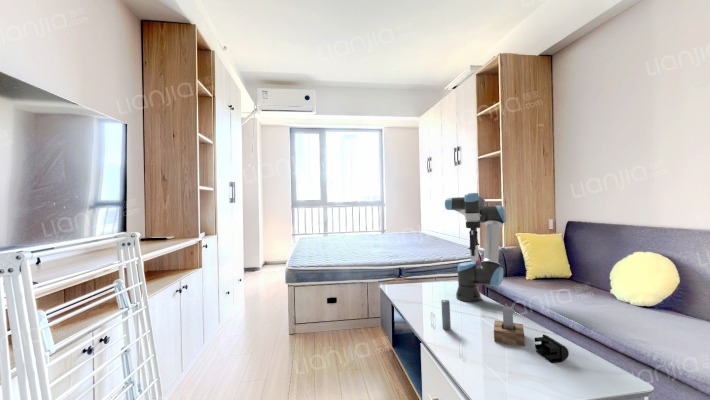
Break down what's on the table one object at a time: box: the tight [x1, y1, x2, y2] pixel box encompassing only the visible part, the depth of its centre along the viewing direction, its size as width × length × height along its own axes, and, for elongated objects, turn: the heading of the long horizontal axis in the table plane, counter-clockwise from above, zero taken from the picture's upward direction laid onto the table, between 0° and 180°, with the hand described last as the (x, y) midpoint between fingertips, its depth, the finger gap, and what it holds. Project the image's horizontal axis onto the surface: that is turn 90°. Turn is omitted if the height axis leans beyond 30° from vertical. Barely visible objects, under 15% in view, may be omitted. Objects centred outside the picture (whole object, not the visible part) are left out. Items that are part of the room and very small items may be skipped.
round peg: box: [440, 299, 452, 331], centre depth 147 cm, size 4×4×14 cm
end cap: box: [534, 334, 570, 364], centre depth 117 cm, size 10×7×7 cm
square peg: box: [502, 305, 514, 330], centre depth 134 cm, size 4×4×14 cm
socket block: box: [493, 320, 526, 347], centre depth 134 cm, size 12×12×5 cm
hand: (474, 259), depth 160 cm, fingers open, 13 cm apart
